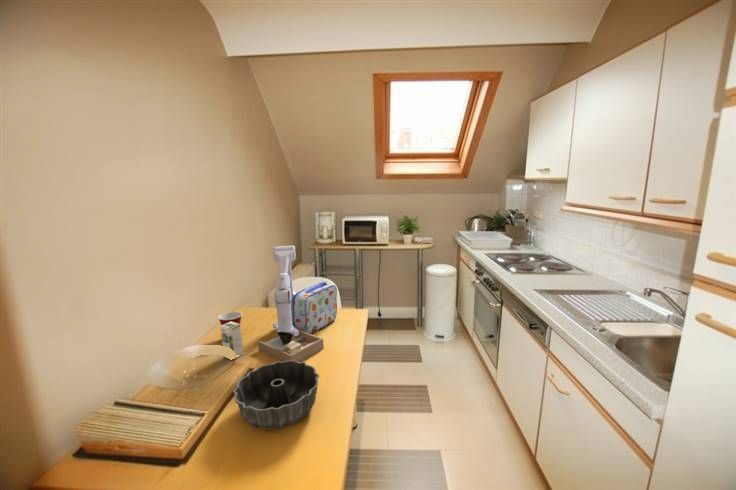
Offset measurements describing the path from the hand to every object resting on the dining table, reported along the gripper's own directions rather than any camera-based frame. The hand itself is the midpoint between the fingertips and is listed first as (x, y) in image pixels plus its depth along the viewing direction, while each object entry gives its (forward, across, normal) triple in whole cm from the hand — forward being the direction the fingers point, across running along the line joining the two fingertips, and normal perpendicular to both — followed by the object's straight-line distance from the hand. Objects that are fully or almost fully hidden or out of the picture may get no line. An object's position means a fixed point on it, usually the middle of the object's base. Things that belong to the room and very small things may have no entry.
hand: (287, 347), depth 143 cm
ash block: (+1, +4, 0) cm, 4 cm away
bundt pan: (+4, +26, -24) cm, 36 cm away
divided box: (+3, -2, +4) cm, 5 cm away
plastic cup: (+3, -34, -6) cm, 34 cm away
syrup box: (+3, -18, -14) cm, 23 cm away
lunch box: (+3, -10, +27) cm, 29 cm away
